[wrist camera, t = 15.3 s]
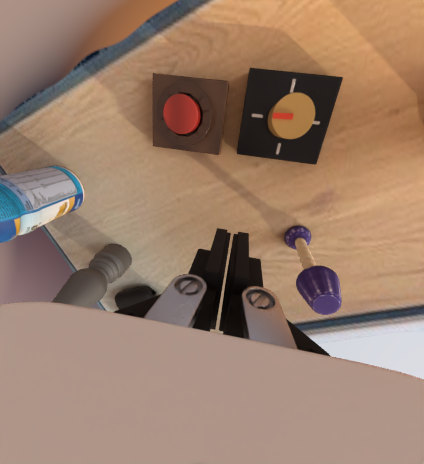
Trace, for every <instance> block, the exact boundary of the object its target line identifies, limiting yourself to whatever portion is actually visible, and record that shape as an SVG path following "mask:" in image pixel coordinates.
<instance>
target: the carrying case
mask: <svg viewBox="0 0 424 464" xmlns="http://www.w3.org/2000/svg"><path fill="white" fill-rule="evenodd" d="M158 295H159V294H158V293H157V292H155V291H154V290H152V289H151V288H149V287H140V288H136V289H131V290H127V291H122V292H119V293H117V295H116V296H115V302H116V305H117V306H118V308H119V310H120V309H123V308H125V307H128V306H131V305H133V304H136V303H139V302H141V301H144V300H147V299H150V298H152V297H155V296H158Z"/></svg>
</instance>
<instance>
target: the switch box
mask: <svg viewBox="0 0 424 464" xmlns="http://www.w3.org/2000/svg"><path fill="white" fill-rule="evenodd" d="M228 89H229V83H228V81H222V80H212V79H203V78H193V77H184V76H175V75H165V74H156V73H153V146H156V147H163V148H171V149H178V150H186V151H193V152H201V153H208V154H215V155H219V154H221V146H222V138H223V130H224V122H225V113H226V105H227V97H228ZM175 94H185V95H187V96H189V97H191V98H192V99H194V100H195V101H196V103H197V104H198V106H199V108H200V112H201V120H200V123H199V125H198V127H197V128H196V129H195V130H194V131H193V132H191V133H188V134H178V133H175V132H173V131H172V130H171V129H170V128H169V127H168V126H167V124H166V123H165V120H164V115H163V110H164V106H165V103H166V101H167V100H168V99H169V98H170V97H171V96H172V95H175Z"/></svg>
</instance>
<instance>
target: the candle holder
mask: <svg viewBox="0 0 424 464" xmlns="http://www.w3.org/2000/svg"><path fill="white" fill-rule="evenodd" d="M131 261H132V258H131V255H130V253H129V252H128V251H127V249H126V248H124V247H122V246H121V245H118V244H109V245H108V246H106V247H105V248H103V249H102V250H101V251H100V252H99V253H97V254H96V255H95V257H94V259H92V260H91V262H90V264H89V268H86V269H80V270H78V271H77V272H75V273H73V274H72V275H71V276H70V278H69V279H68V280H67V282H66V283H65V285H64V286H63V287H62V289H61V290H60V292H59V293H58V294H57V296H56V297H55V298H54V300H53V301H52V303H62V304H69V305H75V306H81V307H87V308H89V307H90V306H92V305H93V304H95V303H96V302H98V301H99V300H101V299H102V298H103V296H104V295H105V293H106V291H107V284H108V283H112V282H114V281H116V279H117V278H119V277H121V276H122V275H123V273H124V272H125V271H126V270H127V269H128V268H129V266H130V265H131Z"/></svg>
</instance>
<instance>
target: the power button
mask: <svg viewBox="0 0 424 464" xmlns="http://www.w3.org/2000/svg"><path fill="white" fill-rule="evenodd" d="M163 115H164V120H165V123H166V124H167V126H168V127H169V128H170V129H171V130H172V131H173V132H175V133H178V134H188V133H191V132H193V131H194V130H195V129H196V128H197V127H198V125H199V123H200V120H201V112H200V108H199V106H198V104H197V103H196V101H195V100H194V99H192V98H191V97H189V96H187V95H185V94H175V95H172V96H171V97H170V98H169V99H168V100H167V101H166V103H165V106H164V110H163Z"/></svg>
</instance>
